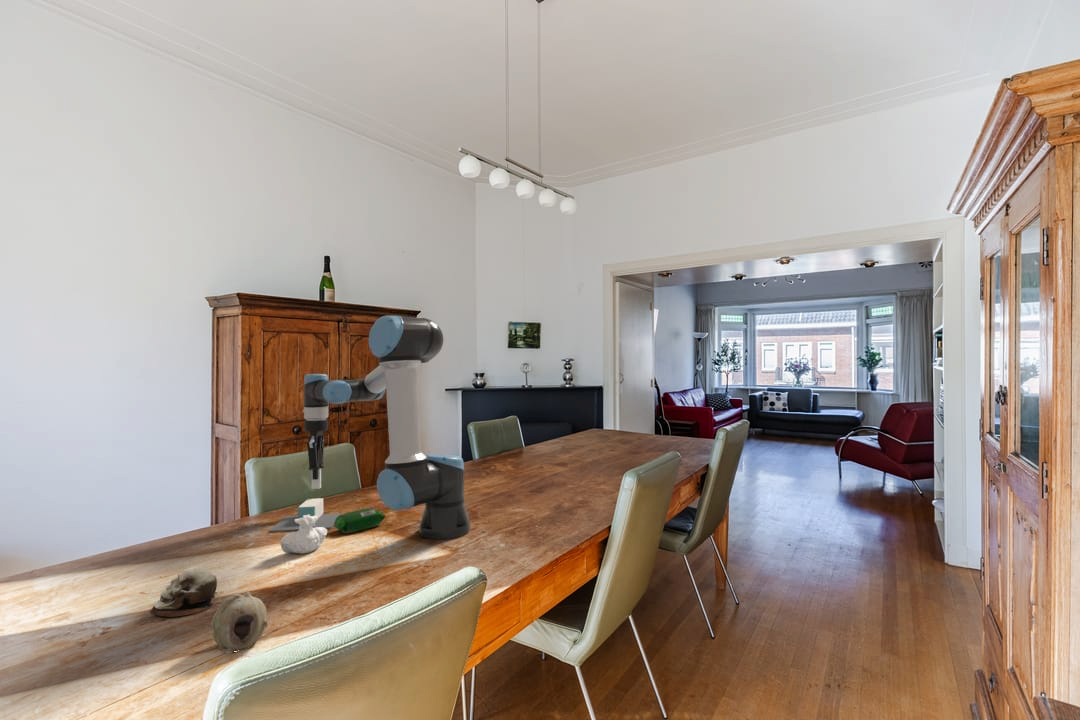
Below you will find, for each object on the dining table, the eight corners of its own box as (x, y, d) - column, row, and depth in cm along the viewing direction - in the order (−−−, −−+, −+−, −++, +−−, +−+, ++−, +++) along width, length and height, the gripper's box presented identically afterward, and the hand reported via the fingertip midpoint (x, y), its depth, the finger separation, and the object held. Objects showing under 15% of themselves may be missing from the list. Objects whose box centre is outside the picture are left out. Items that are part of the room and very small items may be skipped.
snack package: (389, 525, 156) (389, 508, 156) (339, 537, 145) (339, 519, 145) (379, 520, 161) (378, 504, 161) (330, 531, 150) (330, 514, 150)
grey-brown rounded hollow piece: (214, 662, 88) (194, 613, 88) (254, 631, 96) (235, 587, 95) (246, 658, 85) (225, 607, 84) (284, 626, 92) (265, 580, 92)
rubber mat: (330, 528, 152) (330, 527, 152) (268, 532, 149) (268, 530, 149) (342, 514, 166) (342, 513, 166) (285, 517, 164) (285, 516, 164)
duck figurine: (281, 565, 130) (288, 538, 125) (275, 542, 134) (281, 515, 129) (328, 553, 138) (336, 528, 133) (321, 531, 142) (329, 506, 137)
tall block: (323, 513, 167) (314, 522, 157) (307, 513, 166) (297, 523, 156) (323, 498, 167) (314, 506, 157) (307, 498, 166) (297, 507, 156)
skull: (142, 621, 96) (150, 569, 102) (155, 637, 103) (162, 587, 109) (215, 606, 101) (219, 557, 107) (222, 622, 108) (226, 575, 114)
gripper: (310, 417, 174) (310, 483, 174) (298, 421, 161) (298, 493, 161) (332, 416, 175) (332, 483, 175) (322, 421, 162) (322, 492, 162)
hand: (316, 488), depth 168 cm, fingers closed
